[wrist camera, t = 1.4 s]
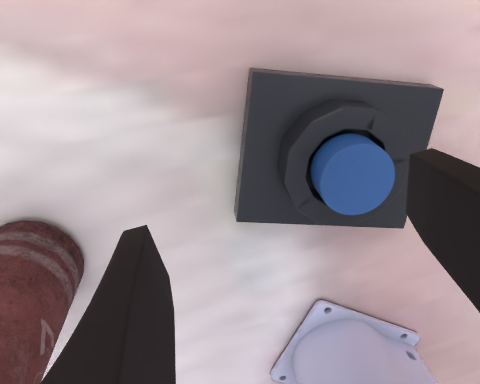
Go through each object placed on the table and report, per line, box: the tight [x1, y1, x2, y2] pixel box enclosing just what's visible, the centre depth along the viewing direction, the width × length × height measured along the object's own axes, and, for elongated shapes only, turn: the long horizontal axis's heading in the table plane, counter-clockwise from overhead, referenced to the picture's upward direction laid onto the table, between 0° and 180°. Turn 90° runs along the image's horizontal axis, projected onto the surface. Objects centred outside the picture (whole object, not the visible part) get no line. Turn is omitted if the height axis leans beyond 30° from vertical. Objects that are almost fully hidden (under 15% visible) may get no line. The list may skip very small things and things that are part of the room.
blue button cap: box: [310, 133, 395, 215], centre depth 23 cm, size 4×4×2 cm
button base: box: [234, 68, 444, 228], centre depth 25 cm, size 11×9×4 cm
